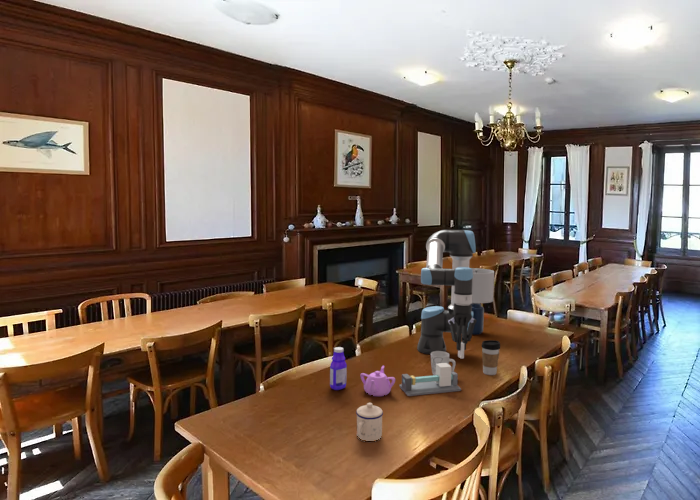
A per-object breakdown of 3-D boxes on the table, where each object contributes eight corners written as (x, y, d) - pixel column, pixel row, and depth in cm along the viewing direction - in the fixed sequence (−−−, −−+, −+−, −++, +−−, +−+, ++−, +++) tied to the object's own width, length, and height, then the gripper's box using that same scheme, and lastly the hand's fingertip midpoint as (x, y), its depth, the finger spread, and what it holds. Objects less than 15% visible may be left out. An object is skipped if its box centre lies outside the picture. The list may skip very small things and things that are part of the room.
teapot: (383, 384, 209) (383, 364, 208) (397, 396, 196) (398, 375, 195) (358, 387, 205) (358, 368, 204) (371, 400, 192) (371, 379, 191)
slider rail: (399, 386, 206) (399, 372, 205) (450, 381, 212) (450, 367, 211) (407, 396, 196) (408, 380, 196) (461, 390, 202) (461, 376, 202)
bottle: (339, 383, 209) (340, 345, 207) (348, 387, 205) (349, 348, 203) (327, 388, 204) (327, 348, 202) (336, 392, 200) (336, 351, 198)
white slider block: (435, 382, 207) (435, 363, 206) (445, 381, 209) (446, 362, 208) (440, 386, 202) (440, 367, 202) (450, 385, 204) (451, 366, 203)
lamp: (495, 337, 279) (498, 272, 275) (460, 337, 280) (463, 271, 275) (486, 328, 299) (488, 267, 295) (453, 328, 300) (456, 266, 295)
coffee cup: (500, 376, 218) (501, 345, 217) (481, 375, 220) (482, 343, 219) (498, 370, 227) (499, 339, 225) (479, 369, 228) (481, 338, 227)
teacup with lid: (364, 427, 170) (364, 395, 168) (387, 434, 165) (387, 401, 164) (346, 441, 159) (346, 408, 158) (370, 449, 155) (370, 415, 153)
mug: (457, 374, 221) (457, 353, 220) (452, 380, 213) (453, 359, 212) (432, 370, 226) (433, 350, 225) (428, 376, 218) (428, 355, 217)
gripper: (452, 306, 198) (450, 361, 201) (481, 304, 202) (478, 359, 204) (444, 302, 206) (443, 355, 208) (472, 301, 209) (470, 353, 211)
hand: (460, 357), depth 206 cm, fingers closed
